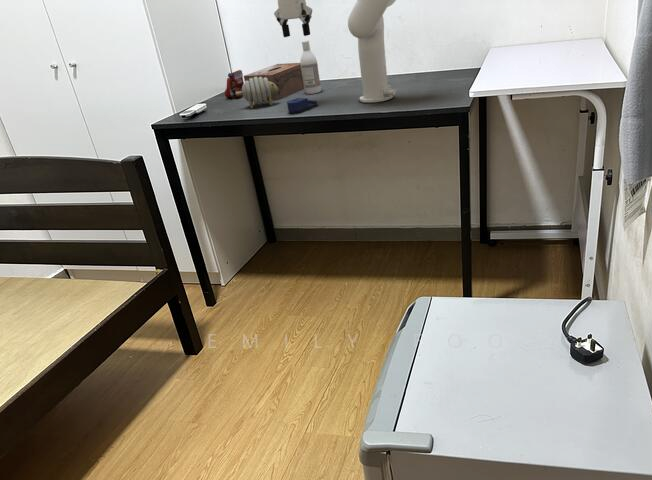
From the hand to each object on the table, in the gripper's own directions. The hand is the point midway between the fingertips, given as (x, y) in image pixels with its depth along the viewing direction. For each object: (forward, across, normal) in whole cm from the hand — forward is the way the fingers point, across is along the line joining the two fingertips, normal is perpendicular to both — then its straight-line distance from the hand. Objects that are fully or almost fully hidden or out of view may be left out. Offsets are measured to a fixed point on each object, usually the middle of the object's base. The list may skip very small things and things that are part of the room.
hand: (296, 36), depth 205 cm
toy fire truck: (+24, +46, -8) cm, 53 cm away
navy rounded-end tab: (+24, -5, +10) cm, 27 cm away
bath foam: (+24, +11, -17) cm, 32 cm away
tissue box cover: (+24, +28, -15) cm, 40 cm away
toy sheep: (+24, +20, +6) cm, 32 cm away
